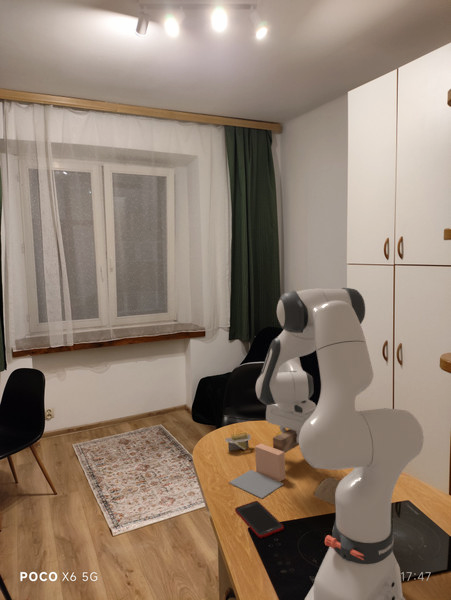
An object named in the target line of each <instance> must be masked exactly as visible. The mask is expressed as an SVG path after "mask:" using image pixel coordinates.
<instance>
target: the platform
mask: <svg viewBox="0 0 451 600" xmlns="http://www.w3.org/2000/svg"><path fill="white" fill-rule="evenodd" d="M251 438H252V436H251V434H248V433H247V432H240V433H239V432H238V434H237V435H236V433H235V434H231V437H226V438H225V439H224V441H225V442H226V443H228V444H227V445H228V446H227V447H228V452H232V451H237V450H244V451H246V450H247V449H249V441H250V440H251Z"/></svg>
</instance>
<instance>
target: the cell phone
mask: <svg viewBox="0 0 451 600" xmlns="http://www.w3.org/2000/svg"><path fill="white" fill-rule="evenodd" d="M234 511H235V513H236V514H237V515H238V516H239V517H240V518H241V520H242V521H243V522H244V523H245V524H246V525H247V526H248V527H249V528H250V530H251V531H252V532H253V533H254V534H255V536H257V537H258V538H260V539H263V537H264V538H266V537H269V536H271V535H273V533H274V534H276V532H277V533H278V532H281V530H282V531H283V530H284V525H283V524H282V522H280V521H279V520H278V519H277V518H276V517H275V516H274V515H273V514H272V513H271V512H270V511H269V510H268V509H267V508H266V507H265V506H264V505H263V504H262V503H260V502H259V501H258V500H255V501H250V502H247V503H245V504H242V505H239V506H238V507H235V508H234Z"/></svg>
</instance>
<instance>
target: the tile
mask: <svg viewBox="0 0 451 600" xmlns="http://www.w3.org/2000/svg"><path fill="white" fill-rule="evenodd" d="M254 453H255V470H256V471H255V472H257V473H260V474H262V475H264V476H267V477H269V478H271V479H274V480H276V481H278V482H282V481H283V480H285V479H286V463H285V462H286V460H285V459H286V458H285V457H286V456H285V453H284V452H283V451H280V450H278V449H275V448H273V447H271V446H269V445H266V444H263V443H259V444H257V445H255V446H254Z"/></svg>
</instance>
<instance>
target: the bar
mask: <svg viewBox="0 0 451 600" xmlns="http://www.w3.org/2000/svg"><path fill="white" fill-rule="evenodd" d="M297 435H298V434H296V431H295V430H291V429H289V430H287V431H285V432H283V433H281V434H279V435H277V436H276V435H275V436H273V437H272V446H273V447H272V448H275V449H278V450H280V451H283V452H284V454H286V453H288V452H290V451H291V450H293V449H295V448H297V447H299V443H296V442H294V437H296V436H297Z"/></svg>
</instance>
